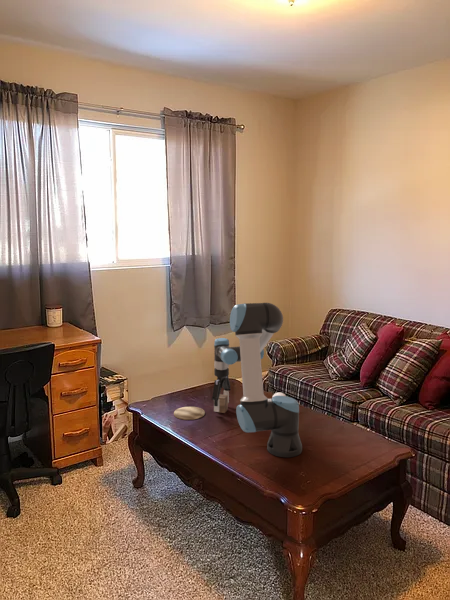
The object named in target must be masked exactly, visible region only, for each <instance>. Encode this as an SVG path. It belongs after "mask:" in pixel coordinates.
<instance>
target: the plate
mask: <svg viewBox="0 0 450 600" xmlns="http://www.w3.org/2000/svg"><path fill="white" fill-rule="evenodd" d="M205 414H206V412H205V410H204V409H203V408H201V407H197V406H183V407H179V408H176V409H175V410H174V412H173V416H174V417H175V418H177V420H178V419H179V420H185V421H193V420H198V419H202V418H203V417H204V416H205Z"/></svg>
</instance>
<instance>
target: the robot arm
mask: <svg viewBox="0 0 450 600" xmlns="http://www.w3.org/2000/svg"><path fill="white" fill-rule="evenodd" d="M283 323H284V316H283V313H282V311H281V310H280V308H279V307H278V306H276V305H275V304H274V303H271V302H253V303H251V302H249V303H246V302H244V303H239V304H235V305H234V306H233V307H232V309H231V311H230V316H229V327H230V330H231V332H233V333H235V334H234V335H235V337H236V338H237V339H238V341H239V345H238V346H230V341H229V339H228V338H226V337H225V338H224V337H218V338H215V339H214V344H213V347H214V349H213V350H214V353H213V354H214V357H213V358H214V360H213V361H214V363H213V364H214V365H213V367H214V371H213V372H214V376H215V377H216V380H215V379H214V381H213V382H214V385H213V391H212V397H211V400H212V401H213V412H216V413H220V412H219V396H220V394H221V393H222V392H221V391H222V389H224V390H223V395H228V404H229V403H230V401H229V400H230V397H229V396H230V393H229V392H230V391H231V383H230V378H229V375H230V369H229V367H230V366H229V365H234V364H236V363H238V362H240V366H241V367H240V368H241V378H242V379H241V381H242V393H243V395H242V396H241V398H240V399H239V401H240V404H238V405H237V406H236V410H235V413H236V419H237V423H238V425H239V427H240V429H241V430H242V431H243V432H244V433H256V432H264V431H271V432H270V434H269V437H268V440H267V443H266V446H267V447H266V450H267V452H268V453H269V454H270V455H272V456H275V457H281V458H294V457H297V456H299V455H301V454H302V452H303V444H302V441H301V438H300V435H299V426H300V425H299V424H300V423H299V422H300V405H299V402H298V400H296V399H295V398H293V397H290V396H287V395H286V396H274V397H273V396H272V397H271V399H272V401H271V402H268V399H269V398H268V397H267V396H266V395H265V394H264V382H263V371H262V369H263V368H262V359H264V356H265V350H264V349H265V347H266V346H267V344H268V343H269V341H270V340H271V339H272V337H273V336H274V334H275V333H278V332H279V331H280V329H281V328H282V326H283ZM215 397H216V398H215Z"/></svg>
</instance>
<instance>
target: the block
mask: <svg viewBox="0 0 450 600" xmlns="http://www.w3.org/2000/svg"><path fill="white" fill-rule="evenodd" d="M215 398H216V397H215ZM228 405H229V403H228V395H224V394H222V393H220V396H219V412H218V413H222V414H225V413H226V412H227V411H229V410H228V409H229V406H228Z"/></svg>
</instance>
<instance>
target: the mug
mask: <svg viewBox="0 0 450 600" xmlns="http://www.w3.org/2000/svg"><path fill="white" fill-rule="evenodd" d="M274 396H287V395H286V394H285V393H284V392H275V393H274V394H273V395H272V397H274ZM267 399H268V402H271V401H272V398H267Z"/></svg>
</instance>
